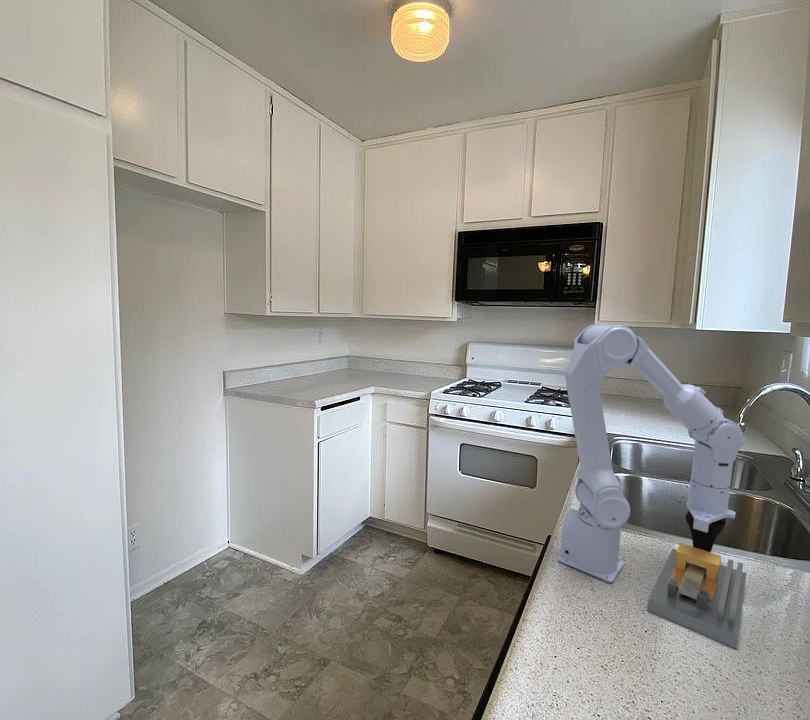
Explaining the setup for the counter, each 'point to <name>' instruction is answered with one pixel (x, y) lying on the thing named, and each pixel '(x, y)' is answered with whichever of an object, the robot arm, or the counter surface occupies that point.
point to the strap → (692, 580)
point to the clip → (698, 560)
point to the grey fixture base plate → (702, 601)
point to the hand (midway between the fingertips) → (701, 554)
